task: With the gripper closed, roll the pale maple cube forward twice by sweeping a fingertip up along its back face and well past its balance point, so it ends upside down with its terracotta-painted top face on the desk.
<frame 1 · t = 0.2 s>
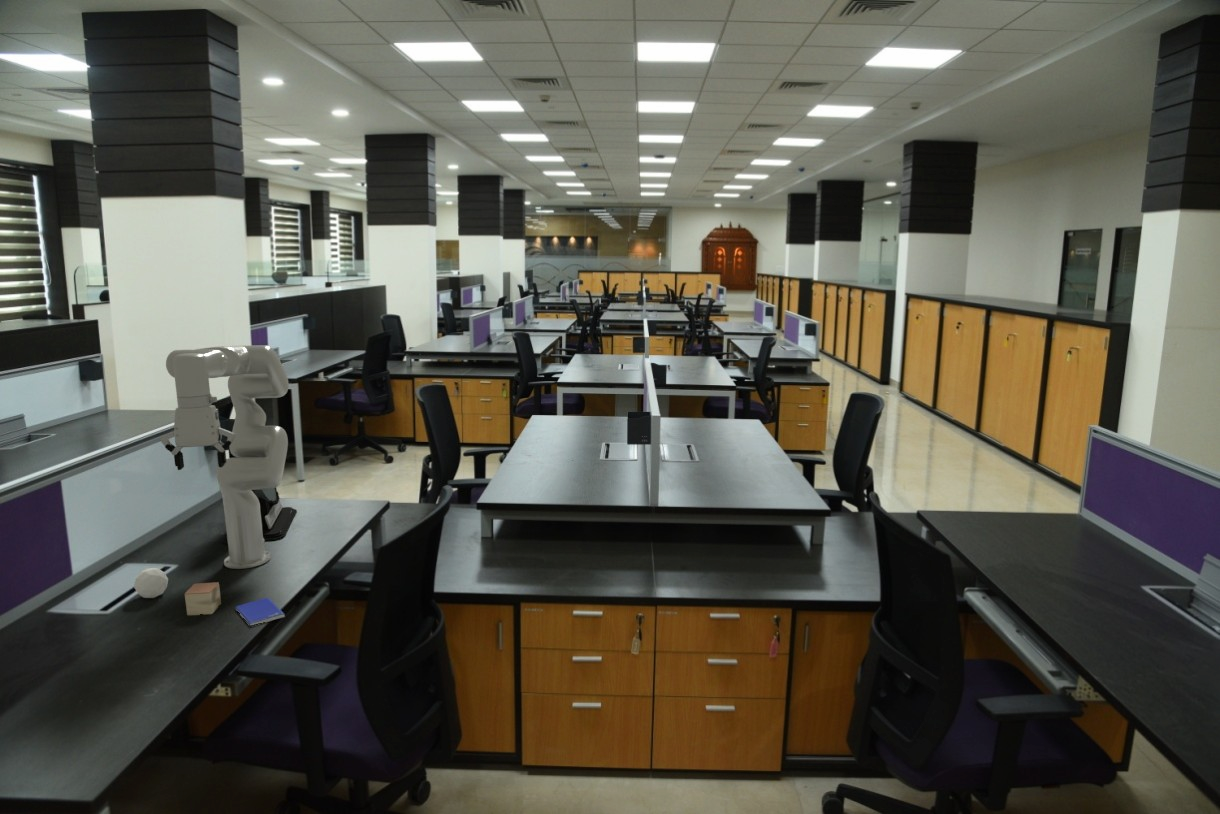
hand: (201, 467, 201), 36 cm above the table, tool pointing down, fingers open, 9 cm apart
award: (261, 527, 262), on the table
geometric ball: (153, 596, 209), on the table
hard drive: (260, 615, 198), on the table
maple cube: (204, 609, 201), on the table
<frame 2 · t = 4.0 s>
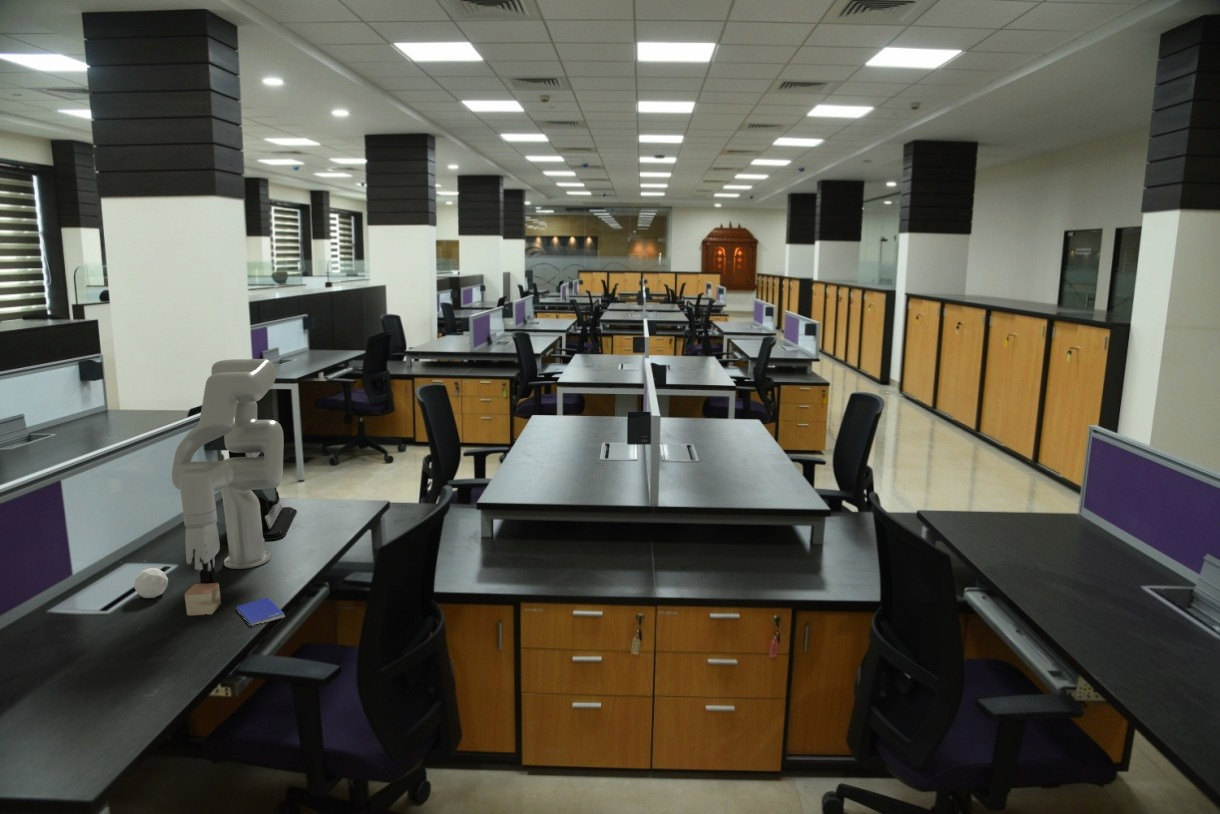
hand: (208, 583, 204), 5 cm above the table, tool pointing down, fingers closed
maple cube: (204, 610, 201), on the table, touching gripper
everything else where it was.
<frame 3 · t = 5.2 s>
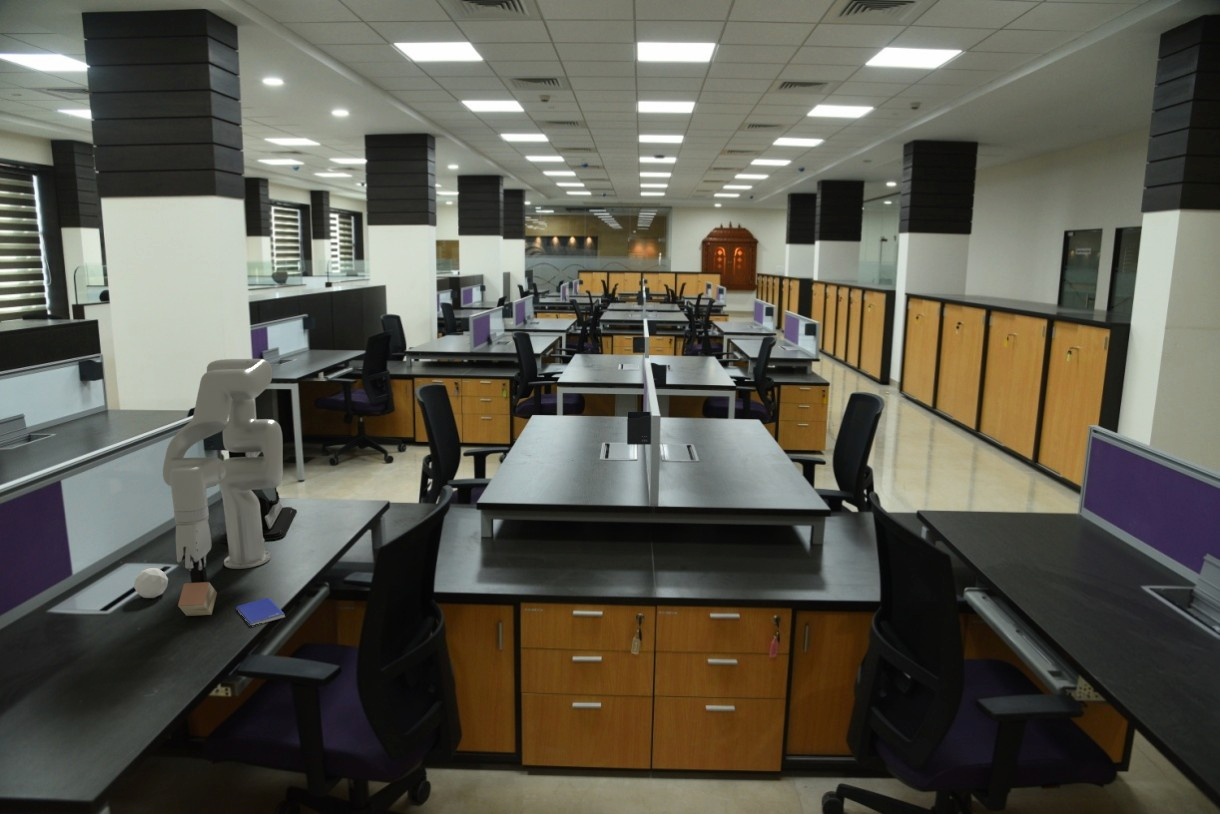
hand: (199, 583, 198), 8 cm above the table, tool pointing down, fingers closed
maple cube: (202, 604, 199), point 2 cm above the table, tilted 40°, touching gripper
everything else where it was.
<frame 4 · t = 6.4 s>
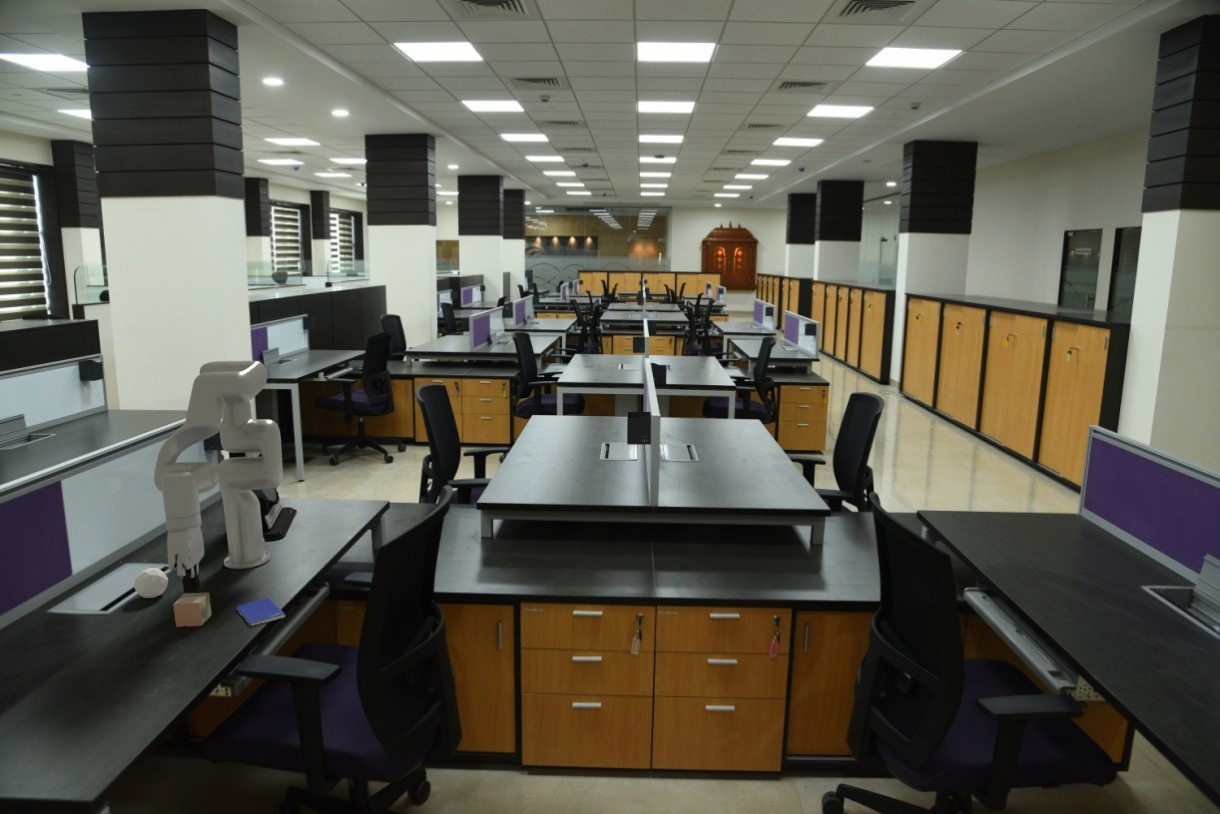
hand: (192, 591, 194), 7 cm above the table, tool pointing down, fingers closed
maple cube: (197, 604, 197), point 3 cm above the table, tilted 90°
everything else where it was.
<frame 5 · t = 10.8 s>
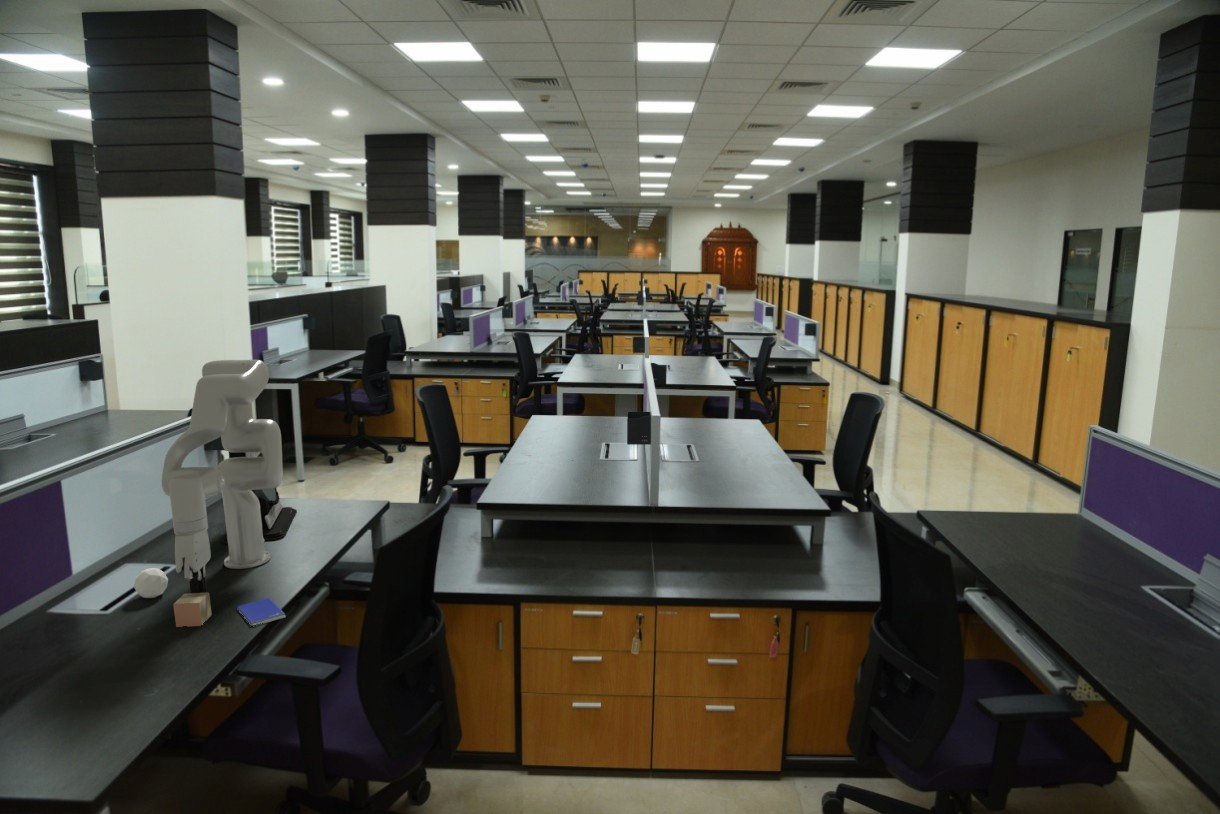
hand: (198, 593, 198), 5 cm above the table, tool pointing down, fingers closed
maple cube: (197, 604, 197), point 3 cm above the table, tilted 90°, touching gripper
everything else where it was.
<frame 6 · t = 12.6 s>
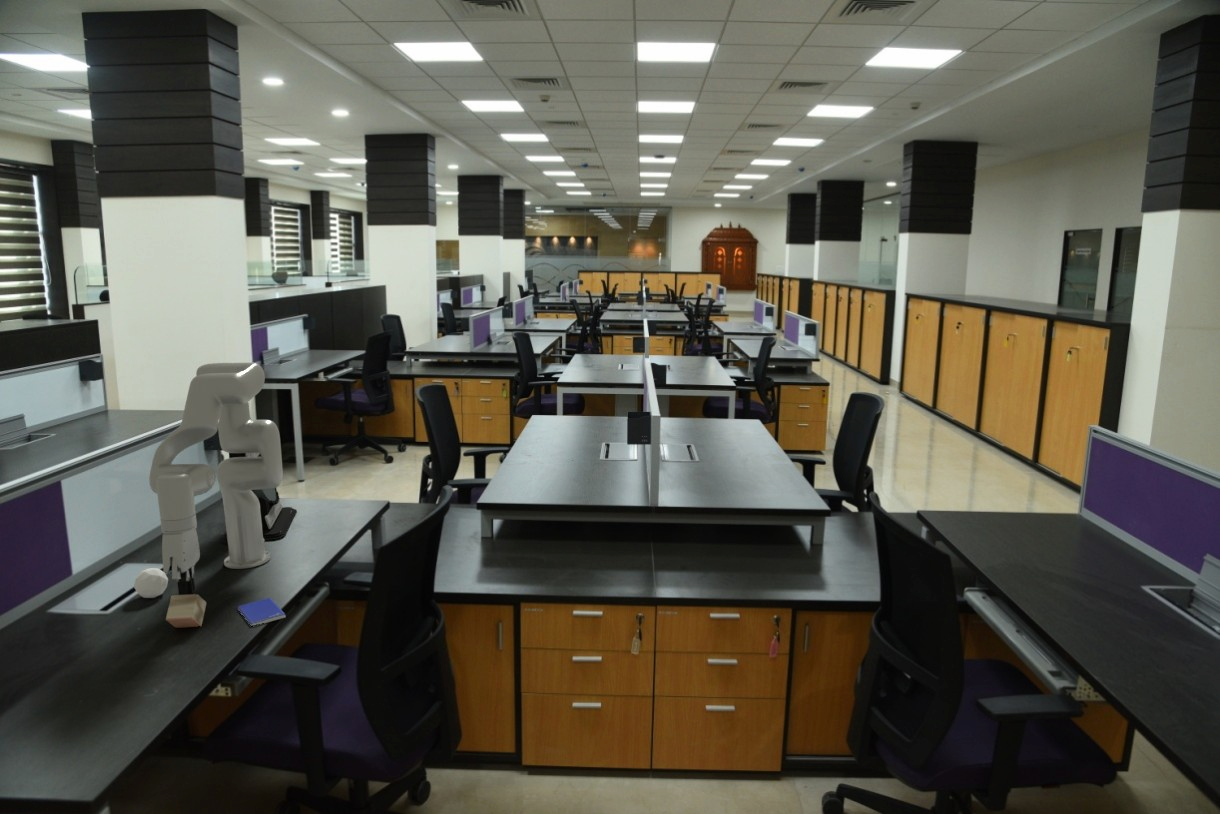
hand: (187, 594, 191), 8 cm above the table, tool pointing down, fingers closed
maple cube: (189, 599, 192), point 6 cm above the table, tilted 135°, touching gripper
everything else where it was.
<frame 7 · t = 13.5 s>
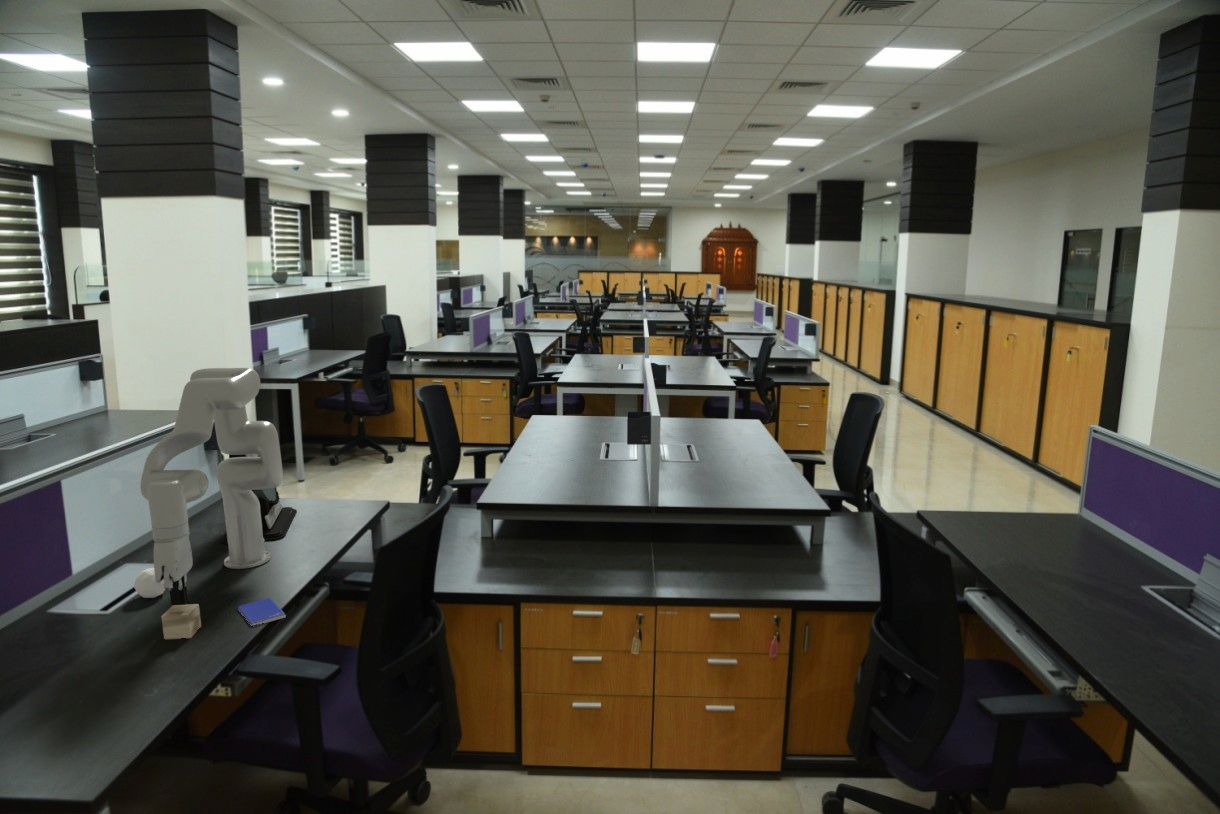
hand: (179, 603, 187), 7 cm above the table, tool pointing down, fingers closed
maple cube: (180, 610, 187), point 6 cm above the table, tilted 180°
everything else where it was.
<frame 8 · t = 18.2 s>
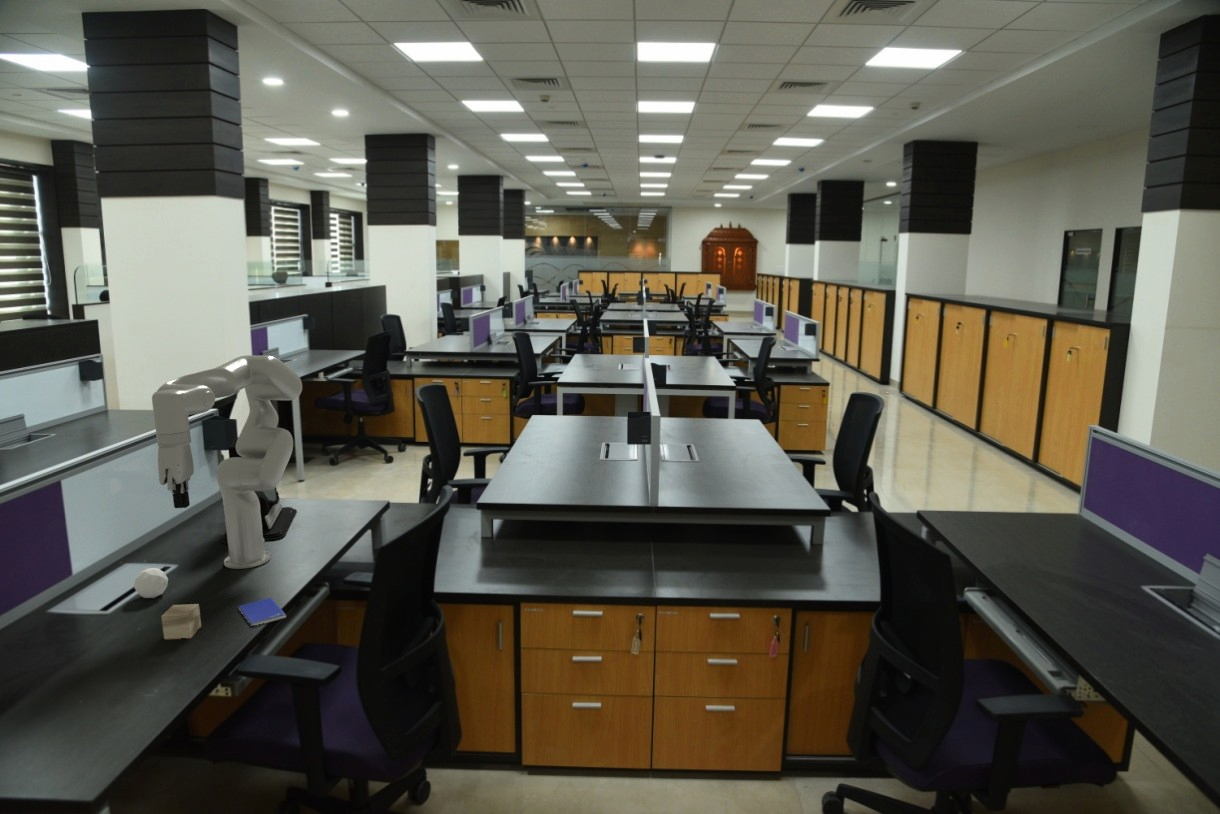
hand: (182, 506, 203), 25 cm above the table, tool pointing down, fingers closed
nothing on the table moved.
at the end: maple cube tilted 180°; maple cube inside the target area (2.8 cm from its centre), point 5.9 cm above the table; the gripper is holding nothing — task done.
